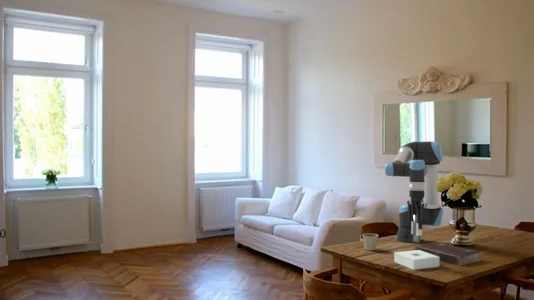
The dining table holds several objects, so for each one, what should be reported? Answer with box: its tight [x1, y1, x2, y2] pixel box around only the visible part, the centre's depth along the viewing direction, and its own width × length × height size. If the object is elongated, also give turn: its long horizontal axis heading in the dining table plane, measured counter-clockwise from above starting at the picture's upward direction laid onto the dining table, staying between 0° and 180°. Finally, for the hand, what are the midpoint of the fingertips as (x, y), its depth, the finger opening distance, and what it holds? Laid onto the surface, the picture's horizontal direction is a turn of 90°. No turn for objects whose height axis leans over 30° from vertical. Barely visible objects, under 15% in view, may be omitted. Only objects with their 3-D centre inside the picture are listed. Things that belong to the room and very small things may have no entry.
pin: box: [413, 214, 421, 243], centre depth 244 cm, size 3×3×14 cm
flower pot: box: [361, 232, 379, 251], centre depth 276 cm, size 9×9×9 cm
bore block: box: [393, 250, 440, 271], centre depth 244 cm, size 16×16×5 cm
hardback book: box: [413, 241, 482, 267], centre depth 259 cm, size 29×19×5 cm, turn 32°
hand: (416, 234), depth 244 cm, fingers closed on pin, 3 cm apart
